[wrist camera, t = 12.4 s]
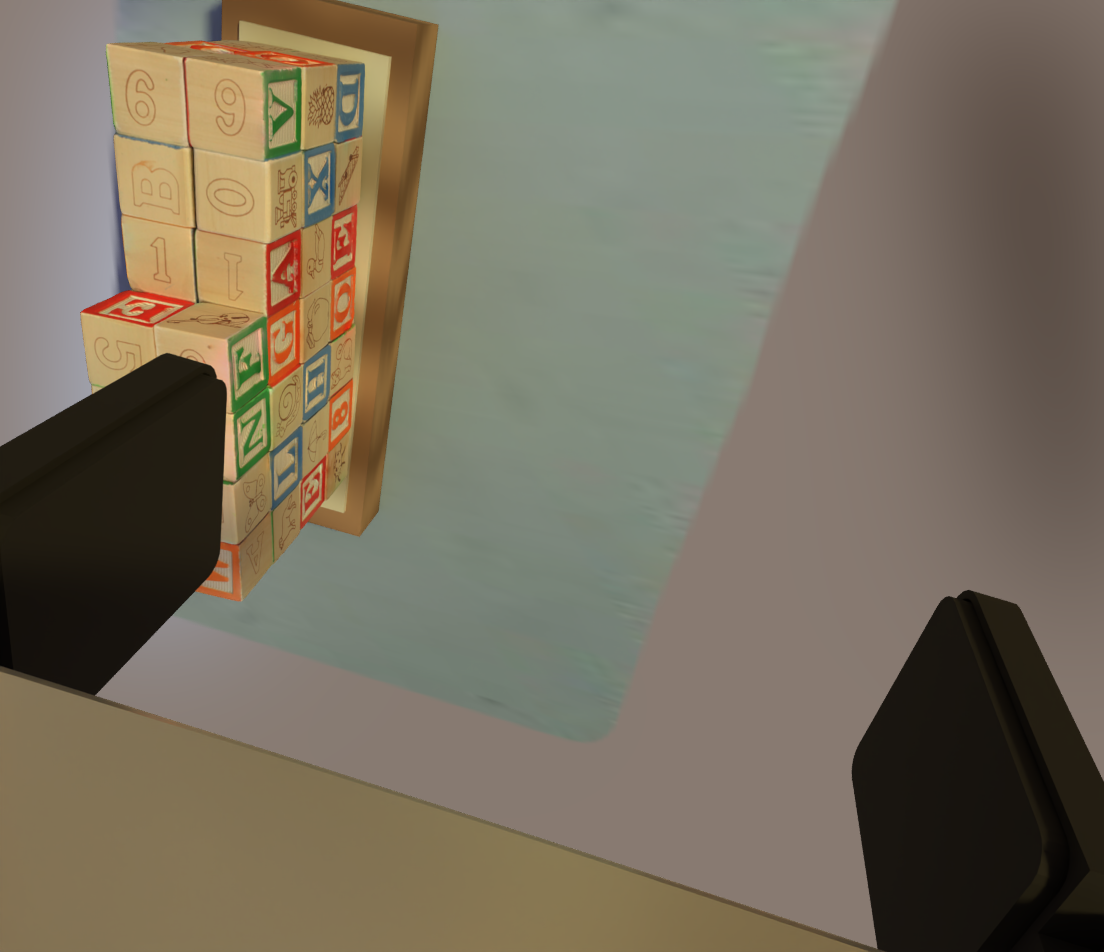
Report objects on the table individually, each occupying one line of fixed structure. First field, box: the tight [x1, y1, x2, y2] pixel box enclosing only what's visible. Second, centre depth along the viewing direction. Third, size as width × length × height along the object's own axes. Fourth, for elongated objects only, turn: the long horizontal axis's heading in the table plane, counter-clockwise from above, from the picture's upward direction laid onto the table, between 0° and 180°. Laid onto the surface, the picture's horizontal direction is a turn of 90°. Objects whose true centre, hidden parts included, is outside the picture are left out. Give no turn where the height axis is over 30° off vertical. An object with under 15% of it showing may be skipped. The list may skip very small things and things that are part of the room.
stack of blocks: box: [80, 40, 365, 601], centre depth 38 cm, size 21×6×12 cm, turn 171°
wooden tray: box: [222, 0, 438, 537], centre depth 45 cm, size 27×9×3 cm, turn 168°
